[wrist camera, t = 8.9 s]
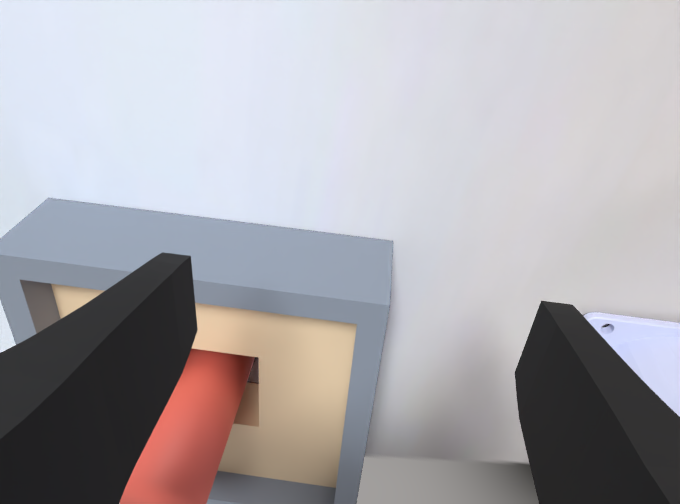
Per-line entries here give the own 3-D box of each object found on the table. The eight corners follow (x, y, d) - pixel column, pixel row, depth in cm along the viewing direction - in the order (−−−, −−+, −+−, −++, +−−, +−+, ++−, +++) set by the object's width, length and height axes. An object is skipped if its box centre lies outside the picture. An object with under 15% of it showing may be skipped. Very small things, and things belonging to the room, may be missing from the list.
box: (392, 241, 21) (390, 305, 18) (358, 459, 29) (351, 531, 26) (48, 198, 22) (-17, 252, 19) (104, 422, 30) (66, 489, 26)
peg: (256, 326, 25) (199, 486, 18) (256, 373, 26) (204, 535, 20) (191, 317, 25) (112, 473, 18) (195, 364, 26) (124, 522, 20)
